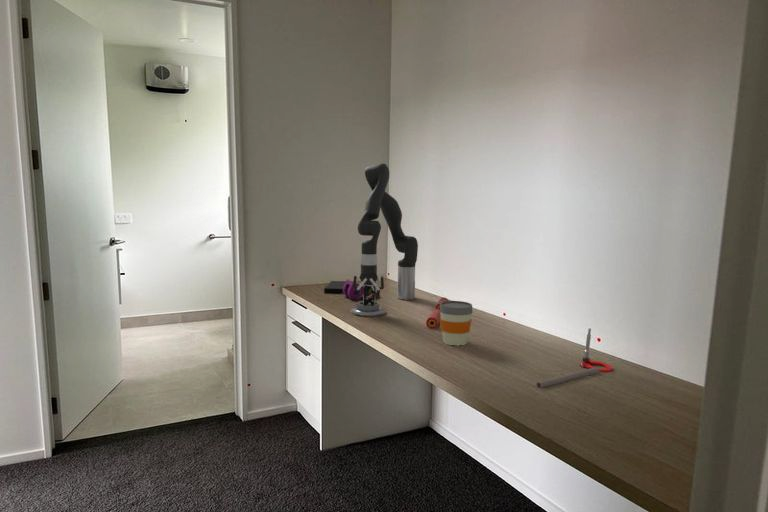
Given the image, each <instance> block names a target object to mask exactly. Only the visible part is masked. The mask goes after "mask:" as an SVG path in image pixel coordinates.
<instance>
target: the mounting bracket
mask: <svg viewBox="0 0 768 512" xmlns="http://www.w3.org/2000/svg"><path fill="white" fill-rule="evenodd" d="M345 281H346V282H345V284H344V286H343V295H344V296H345V297H347V298H349V299H351V300H353V299H359V300H360V299H361V298H363V287H364V285H362V287H361V288H360V298H358V297H357V289H354V288H353V282H354V281H352V280H350V279H346V280H345ZM359 285H360V283H357V282H356V286H359ZM375 298H377V291H376V292H375Z"/></svg>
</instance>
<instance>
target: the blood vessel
mask: <svg viewBox="0 0 768 512" xmlns="http://www.w3.org/2000/svg"><path fill="white" fill-rule="evenodd" d="M444 301H450V299H448V298H447V297H441V298H440V299H439V300H438V301H437V303H436V304H435V306H434V309H433V310H432V311H431V313H430V314H429V316H428V318H427V319H426V321H425V324H426V327H427V328H428V327H430V328H429V329H436V328H437V327H438V326H439V324H440V317H441V314H440V311H439V310H440V303H441V302H444Z"/></svg>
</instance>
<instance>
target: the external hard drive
mask: <svg viewBox="0 0 768 512" xmlns="http://www.w3.org/2000/svg"><path fill="white" fill-rule="evenodd" d="M345 282H346V280H345V281H344V280H331V281H330V282H329V283H328V284H327V285H326V286H325V287H324V288H323V293H324V294H338V293H343V286H344V284H345Z"/></svg>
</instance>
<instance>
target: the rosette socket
mask: <svg viewBox="0 0 768 512" xmlns="http://www.w3.org/2000/svg"><path fill="white" fill-rule="evenodd" d="M380 302H381V301H380ZM380 302H379V301H376V300H375V305H363V300H362V301H357V303H356V306H354V307H352V308H350V313H351V312H352V313H353V314H355V315H354V316H356V315H360V316H359V317H363V316H375V317H380V316H379V315H381V316H383V314H384V315H385V314H386V308H384V307H383V306H381V305H380V304H381V303H380ZM352 313H351V314H352ZM353 314H352V315H353Z"/></svg>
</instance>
